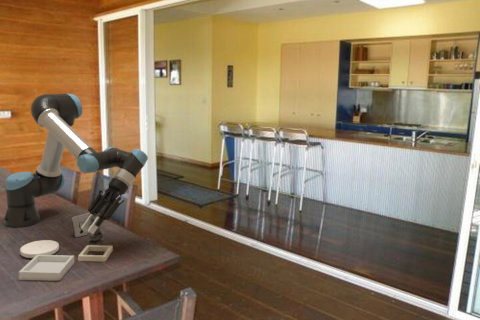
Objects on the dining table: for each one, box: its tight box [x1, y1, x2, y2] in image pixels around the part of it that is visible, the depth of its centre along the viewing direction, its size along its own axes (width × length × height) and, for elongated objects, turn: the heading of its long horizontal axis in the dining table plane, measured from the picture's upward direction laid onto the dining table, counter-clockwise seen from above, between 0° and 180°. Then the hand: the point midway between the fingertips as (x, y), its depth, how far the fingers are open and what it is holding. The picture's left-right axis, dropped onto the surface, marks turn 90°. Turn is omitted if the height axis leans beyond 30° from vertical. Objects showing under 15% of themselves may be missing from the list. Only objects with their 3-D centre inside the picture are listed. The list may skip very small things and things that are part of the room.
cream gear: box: [19, 239, 60, 259], centre depth 165 cm, size 14×14×2 cm
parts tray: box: [18, 254, 75, 282], centre depth 150 cm, size 14×14×3 cm
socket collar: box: [77, 244, 114, 262], centre depth 164 cm, size 10×10×2 cm
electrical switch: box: [70, 212, 90, 238], centre depth 185 cm, size 9×5×9 cm, turn 141°
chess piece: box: [87, 214, 104, 245], centre depth 162 cm, size 6×6×12 cm
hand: (87, 231), depth 159 cm, fingers closed on chess piece, 4 cm apart
